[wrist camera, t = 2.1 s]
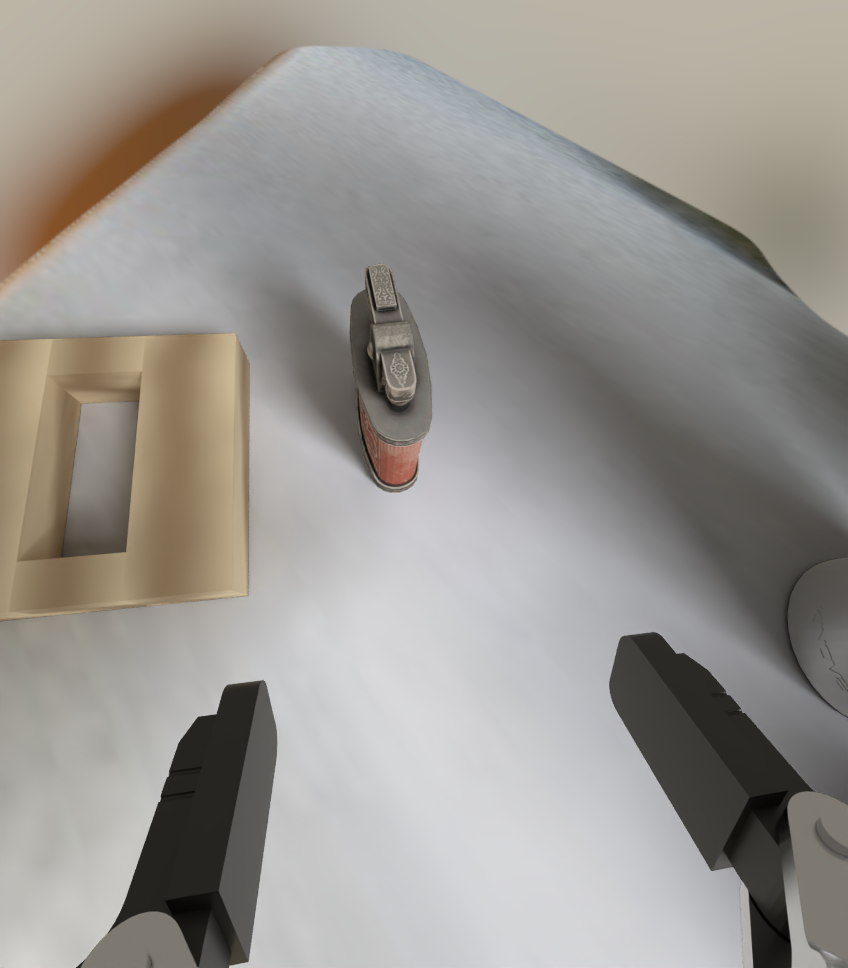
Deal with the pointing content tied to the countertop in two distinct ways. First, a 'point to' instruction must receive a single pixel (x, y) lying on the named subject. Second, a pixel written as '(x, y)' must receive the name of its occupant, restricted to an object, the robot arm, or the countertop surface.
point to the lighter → (389, 381)
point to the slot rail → (156, 474)
